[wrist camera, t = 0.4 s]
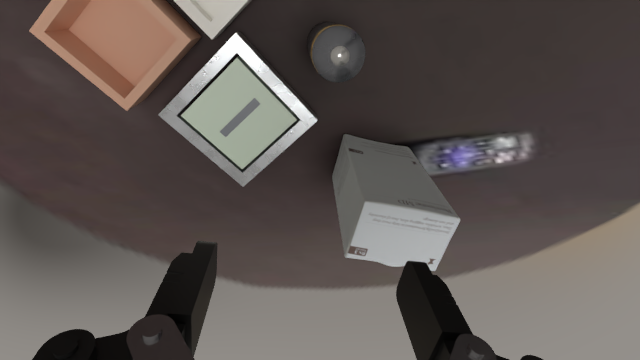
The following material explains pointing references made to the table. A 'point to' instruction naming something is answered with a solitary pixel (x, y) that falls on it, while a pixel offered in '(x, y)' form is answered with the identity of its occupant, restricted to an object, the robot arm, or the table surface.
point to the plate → (240, 113)
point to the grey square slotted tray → (271, 78)
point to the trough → (212, 13)
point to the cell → (336, 51)
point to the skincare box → (389, 205)
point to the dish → (117, 42)
